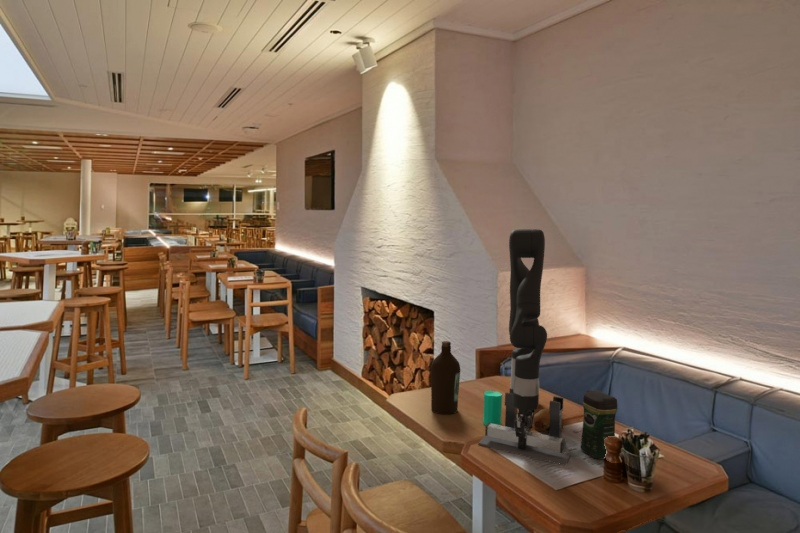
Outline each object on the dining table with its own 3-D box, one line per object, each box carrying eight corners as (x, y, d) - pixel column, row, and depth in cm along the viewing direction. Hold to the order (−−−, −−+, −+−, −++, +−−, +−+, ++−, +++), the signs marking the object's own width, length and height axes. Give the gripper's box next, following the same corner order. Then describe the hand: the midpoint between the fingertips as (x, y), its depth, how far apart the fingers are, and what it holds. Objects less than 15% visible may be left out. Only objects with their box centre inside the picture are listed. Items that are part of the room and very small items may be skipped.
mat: (486, 436, 166) (486, 434, 166) (570, 455, 154) (570, 453, 153) (478, 444, 160) (478, 442, 160) (565, 465, 147) (565, 463, 147)
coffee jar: (619, 458, 153) (623, 396, 151) (597, 462, 150) (601, 399, 148) (596, 444, 162) (600, 386, 160) (575, 448, 159) (578, 388, 157)
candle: (500, 427, 173) (502, 392, 172) (482, 426, 175) (484, 391, 174) (501, 421, 179) (502, 387, 178) (483, 419, 181) (484, 385, 179)
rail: (488, 432, 164) (489, 422, 163) (564, 449, 152) (565, 438, 152) (485, 435, 161) (485, 425, 161) (562, 453, 150) (562, 442, 149)
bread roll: (563, 438, 175) (566, 413, 178) (560, 435, 167) (563, 410, 169) (534, 432, 180) (536, 408, 182) (529, 429, 171) (532, 404, 173)
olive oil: (427, 413, 185) (429, 344, 182) (431, 403, 195) (433, 337, 193) (457, 416, 183) (460, 346, 180) (460, 406, 193) (462, 339, 191)
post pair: (505, 429, 172) (507, 387, 171) (564, 441, 163) (566, 398, 162) (500, 434, 168) (502, 392, 166) (560, 448, 158) (563, 403, 157)
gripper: (520, 382, 163) (518, 435, 165) (506, 395, 151) (504, 452, 152) (544, 386, 159) (541, 441, 161) (532, 400, 147) (529, 458, 149)
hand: (523, 446), depth 157 cm, fingers closed on rail, 3 cm apart
